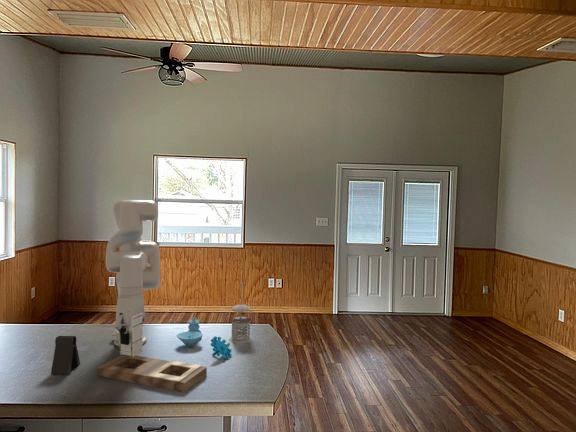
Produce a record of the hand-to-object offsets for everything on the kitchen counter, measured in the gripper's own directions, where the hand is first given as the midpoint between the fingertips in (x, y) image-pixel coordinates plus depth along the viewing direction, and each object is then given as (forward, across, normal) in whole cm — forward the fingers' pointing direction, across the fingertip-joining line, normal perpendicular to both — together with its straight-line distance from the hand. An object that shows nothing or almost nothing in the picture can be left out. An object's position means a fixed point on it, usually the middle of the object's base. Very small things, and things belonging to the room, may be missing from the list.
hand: (131, 340), depth 158 cm
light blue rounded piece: (+12, -34, +4) cm, 36 cm away
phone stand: (+11, +8, -21) cm, 25 cm away
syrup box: (+5, 0, 0) cm, 5 cm away
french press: (+12, -46, +22) cm, 52 cm away
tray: (+11, +1, +10) cm, 14 cm away
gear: (+11, -24, +23) cm, 35 cm away
